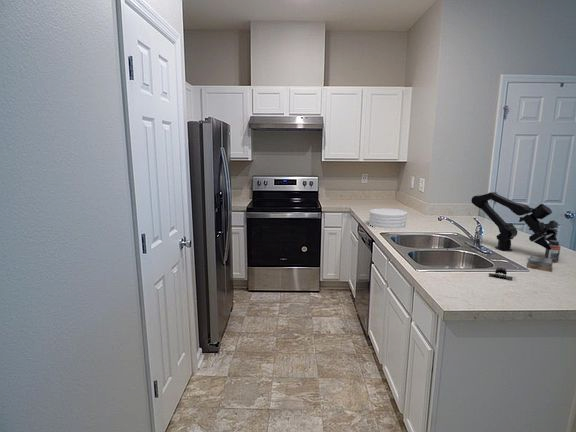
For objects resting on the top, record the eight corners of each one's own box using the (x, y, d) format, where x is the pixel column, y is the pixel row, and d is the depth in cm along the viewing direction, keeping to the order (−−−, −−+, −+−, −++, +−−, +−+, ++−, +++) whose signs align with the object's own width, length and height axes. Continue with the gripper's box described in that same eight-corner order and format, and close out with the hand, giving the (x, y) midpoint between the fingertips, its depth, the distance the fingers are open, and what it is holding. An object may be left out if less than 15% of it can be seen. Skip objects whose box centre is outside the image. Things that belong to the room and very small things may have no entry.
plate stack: (376, 230, 244) (376, 215, 242) (364, 222, 272) (365, 208, 269) (412, 229, 246) (413, 214, 244) (397, 221, 274) (398, 208, 271)
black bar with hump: (484, 277, 156) (485, 268, 155) (485, 272, 162) (486, 263, 161) (516, 283, 149) (517, 273, 148) (516, 278, 155) (517, 268, 154)
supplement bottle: (543, 258, 181) (546, 238, 179) (556, 260, 178) (560, 240, 176) (544, 261, 176) (548, 241, 174) (558, 263, 173) (562, 242, 171)
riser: (526, 267, 167) (527, 259, 167) (528, 262, 175) (529, 255, 174) (551, 272, 161) (552, 264, 160) (552, 266, 169) (553, 259, 168)
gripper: (538, 217, 172) (560, 242, 165) (556, 214, 181) (577, 238, 174) (520, 229, 180) (540, 253, 173) (537, 225, 189) (557, 248, 182)
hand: (554, 248), depth 175 cm, fingers open, 9 cm apart
